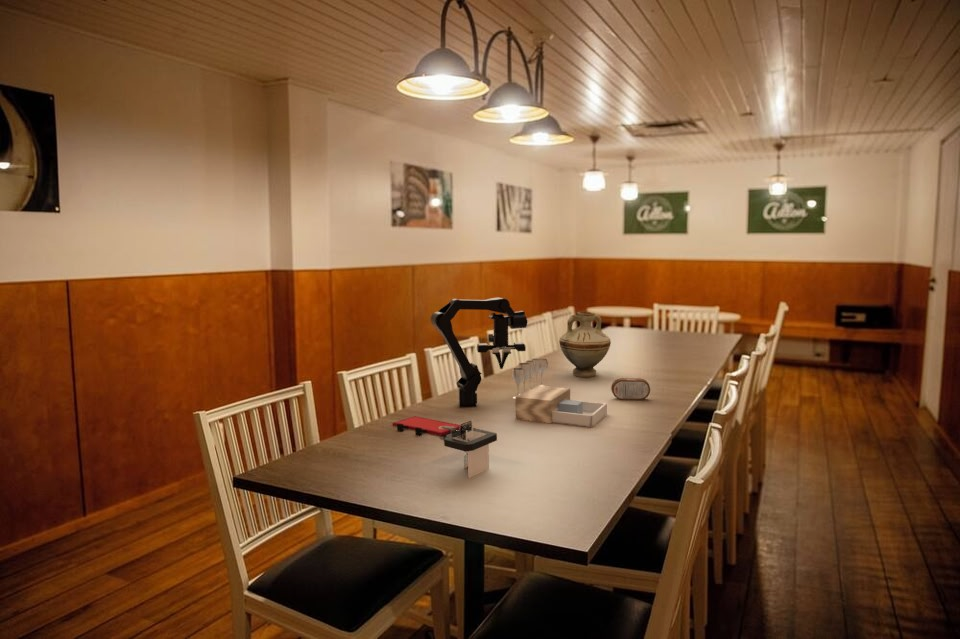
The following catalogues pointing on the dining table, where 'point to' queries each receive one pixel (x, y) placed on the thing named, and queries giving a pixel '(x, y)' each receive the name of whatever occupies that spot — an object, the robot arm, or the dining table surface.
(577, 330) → the amphora
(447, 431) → the red board with handle
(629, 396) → the tin
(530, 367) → the goblet set
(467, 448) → the black-topped pedestal
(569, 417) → the tray
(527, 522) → the dining table surface
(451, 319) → the robot arm
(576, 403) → the block
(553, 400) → the wood grain box
